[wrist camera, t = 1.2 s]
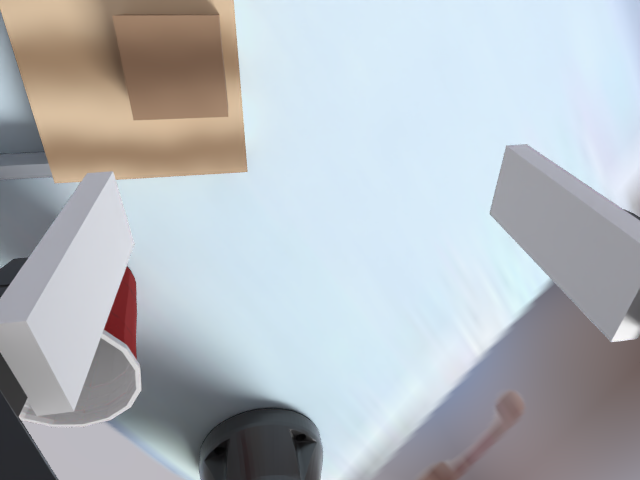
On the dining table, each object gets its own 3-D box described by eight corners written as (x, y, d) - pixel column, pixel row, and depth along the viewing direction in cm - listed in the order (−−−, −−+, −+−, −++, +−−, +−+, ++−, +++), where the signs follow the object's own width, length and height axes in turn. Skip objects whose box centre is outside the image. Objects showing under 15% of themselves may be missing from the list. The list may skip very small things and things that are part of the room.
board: (246, 159, 36) (247, 171, 34) (67, 169, 34) (54, 183, 32) (227, -72, 29) (227, -79, 26) (-6, -80, 26) (-31, -88, 24)
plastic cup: (10, 294, 38) (-70, 402, 28) (75, 207, 36) (14, 291, 25) (122, 346, 43) (89, 454, 33) (187, 273, 41) (173, 365, 30)
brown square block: (228, 107, 31) (228, 116, 29) (141, 110, 30) (133, 120, 28) (219, 14, 28) (218, 15, 26) (123, 14, 27) (112, 15, 25)
